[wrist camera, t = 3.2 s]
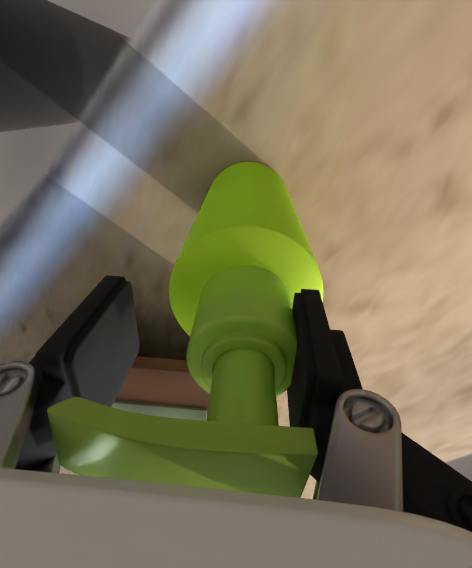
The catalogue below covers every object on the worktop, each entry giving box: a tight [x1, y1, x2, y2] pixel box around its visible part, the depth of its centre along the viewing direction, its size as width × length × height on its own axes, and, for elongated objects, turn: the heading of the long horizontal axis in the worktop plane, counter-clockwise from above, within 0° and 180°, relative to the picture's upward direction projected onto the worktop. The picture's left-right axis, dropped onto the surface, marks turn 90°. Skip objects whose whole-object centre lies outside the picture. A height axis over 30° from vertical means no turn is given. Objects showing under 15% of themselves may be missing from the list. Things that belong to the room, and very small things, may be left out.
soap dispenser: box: [47, 162, 323, 498], centre depth 15 cm, size 6×7×20 cm
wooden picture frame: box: [111, 356, 210, 421], centre depth 29 cm, size 18×14×10 cm
